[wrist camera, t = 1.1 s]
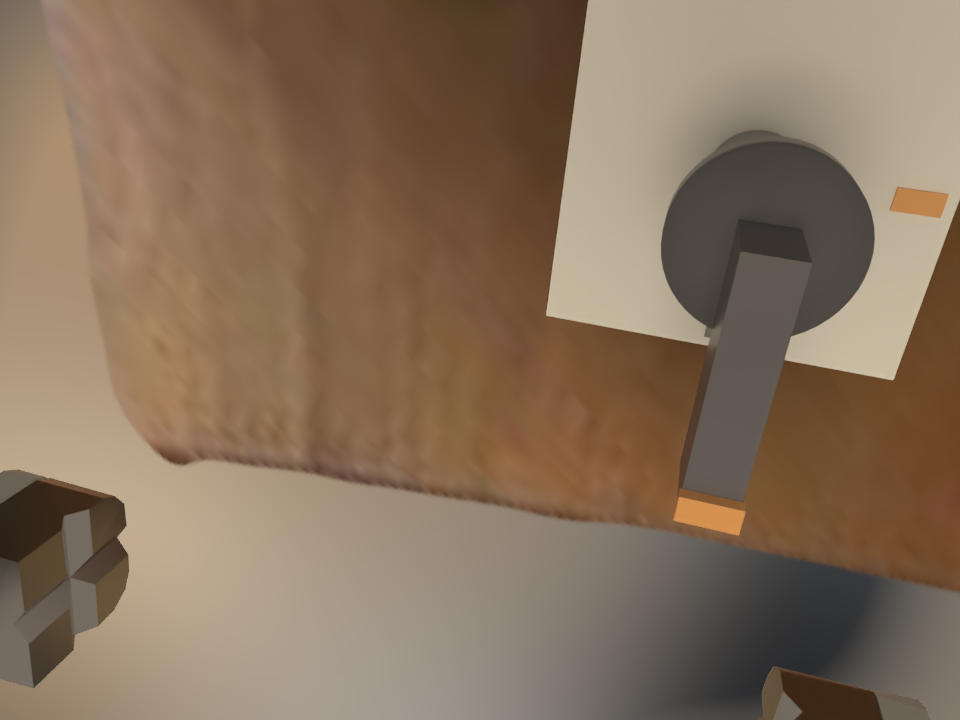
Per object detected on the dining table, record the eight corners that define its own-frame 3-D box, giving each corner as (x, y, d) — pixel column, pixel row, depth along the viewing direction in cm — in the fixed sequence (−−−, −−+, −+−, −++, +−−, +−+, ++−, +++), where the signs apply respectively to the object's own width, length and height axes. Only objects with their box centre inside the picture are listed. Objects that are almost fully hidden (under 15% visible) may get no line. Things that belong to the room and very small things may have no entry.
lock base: (598, -50, 41) (559, -56, 31) (1025, -10, 37) (1135, -3, 27) (550, 306, 50) (508, 389, 40) (888, 368, 46) (934, 478, 36)
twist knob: (684, 123, 32) (675, 157, 27) (893, 151, 31) (934, 194, 25) (624, 426, 39) (607, 507, 33) (794, 461, 38) (808, 553, 32)
